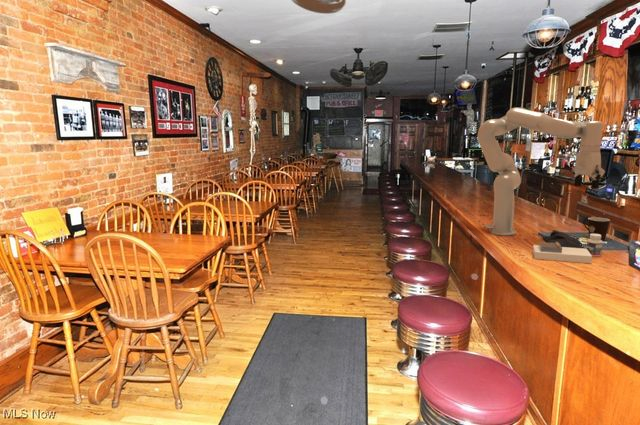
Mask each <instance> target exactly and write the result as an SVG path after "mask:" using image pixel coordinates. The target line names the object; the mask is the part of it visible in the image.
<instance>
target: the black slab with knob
mask: <svg viewBox="0 0 640 425" xmlns="http://www.w3.org/2000/svg"><path fill="white" fill-rule="evenodd" d="M542 239H543V240H545V241H546V242H547V243H555V242H558V243H560V245H561V247H569V248H583V249H587V247H585V246H584V247H585V248H584V247H582V244H583V243H582V242H581V241H580V240H579V239H578V237H574V236H572V235H570V234H567V233H565V232H562V231H558V230H556V229H553V230H552V232H550V234H549V235H548V236H547V235H546V236H542ZM580 244H581V245H580Z"/></svg>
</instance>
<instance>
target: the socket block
mask: <svg viewBox="0 0 640 425" xmlns="http://www.w3.org/2000/svg"><path fill="white" fill-rule="evenodd" d="M532 254H533V258H534V259H535V260H542V259H544V261H555V262H568V263H582V264H592V263H593V262H592V261H593V256H592V255H591V254H590V253H589V251H588V250H587V248H586V249H583V248H569V247H562V253H558V252H545V251H541V250H540V247H539V245H537V244H533V245H532Z"/></svg>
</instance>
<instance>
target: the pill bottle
mask: <svg viewBox="0 0 640 425" xmlns="http://www.w3.org/2000/svg"><path fill="white" fill-rule="evenodd" d="M600 239H601V235H600V234H590V239H589V238H588V239H587V241H586V249H587V250H588V251H589V253H590V254H591V255H592V257H596V258H597V257H601V255H602V252H603V251H602V250H603V241H602V240H600Z"/></svg>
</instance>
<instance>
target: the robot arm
mask: <svg viewBox="0 0 640 425" xmlns="http://www.w3.org/2000/svg"><path fill="white" fill-rule="evenodd" d="M603 125H604V123H603V122H602V121H601V120H589V121H588V120H587V121H574V120H565V119H562V118H557V117H553V116H550V115H548V114H547V113H544V112H540V111H535V110H530V109H526V108H525V107H512V108H510V109H509V110H508V111H507V112H506V114H505V115H504V116H502V117H500V118H492V119H488V120H486V121H484V122H483V123H482V124H481V125H480V127H479V128H478V132H477V140H478V144H479V147H480V148H481V151H482V153H483V156H484V158H485V159H484V160H485V161H486V163H487V166H488V168H489V170H490V171H491V172H493V173H498V175H497V176H496V177H495V179H494V181H493V193H494V194H493V195H494V196H493V198H494V200H493V218H492V219H493V220H492V221H493V222H492V223H491V224H485V223H484V224H483V228H484V229H486V230H489V233H490V234H493V235H494V236H495V235H497V236H505V237H507V236H514V235H516V233H517V231H516V230H514V217H515V216H514V215H515V189H518V187H519V186H520V185H521V183H522V178H521V175H520V172H519V170H518V167H517V165H516V163H515V160H514V159H513V157H512V156H511V155H510V154H509V153H505V152H503V151H502V148H501V145H500V143H499V142H498V141H497V139H496V137H497V136H502V135H505V134H507V133H509V132H512V131H513V130H516V129H517V128H519V127H520V128H523V129H527V130H532V131H535V132H538V133H543V134H546V135H550V136H554V137H557V138H562V139H575V138H580V143H579V144H580V146H579V152H578V153H577V155H576V156H577V157H576V160H575V164H574V166H573V167H572V168H571V169H572V174H573V178H574V183H573V184H574V185H573V186H574V187H582V185H583V183H582V182H583V177H582V176H591V178H592V180H591V185H590V189H591V190H598V189H599V188H600V181H601V180H602V179H603V177H604V175H605V173H606V171H605V169H603V167H602V157H601V156H602V154H601V145H602V136H603V127H604V126H603Z"/></svg>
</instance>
